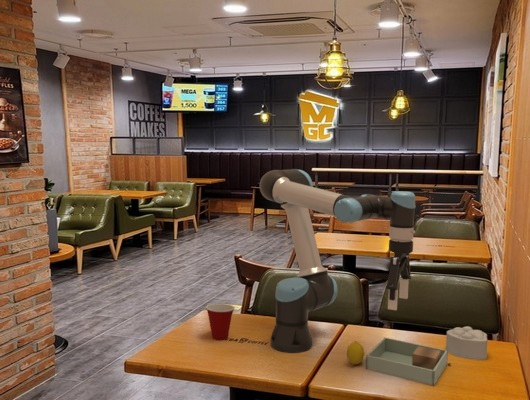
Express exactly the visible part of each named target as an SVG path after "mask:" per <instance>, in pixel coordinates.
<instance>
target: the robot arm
mask: <svg viewBox="0 0 530 400" xmlns="http://www.w3.org/2000/svg"><path fill="white" fill-rule="evenodd" d="M312 180H313V179H312V178H311V176H310V175H309V174H308V173H307V172H306V171H304V170H302V169H297V168H291V169H272V170H269V171H267V172H266V173H265V174H264V175H263V176H261V178H260V180H259V181H260V182H259V191H260V193H261V196H263V198H265V199H266V200H269V201H271V202H274V203H276V204H277V203H278V204H280V208H282V209H284V210H285V212H286V213H285V214H286V216H287V217H286V218H287V222H288V225H289V229H290V234H291V238H292V243H293V248H294V251H295V255H296V262H297V264H298V268H299V269H298V270H299V272H298V274H297V276H296V277H288V278H284V279H281V280H280V281H279V282H277V284H276V288H275V292H274V296H275V322H274V323H275V324H274V328H273V330H272V333H271V335H270V346H271V348H272V349H275V350H277V351H278V352H279V351H280V352H284V353H302V352H305V351H306V352H307V351H308V350H310V349H311V348H312V347H313V337H312V336H313V335H312V333H311V330H310V329H311V328H310V326H309V313H310V312H312V311H313V312H314V311H316V310H319V309H323V308H326V307H328V306H329V305H331V304H333V302H335V300H336V298H337V296H338V284H337V282H336V280H335V279H334V278H333V276H332V275H329V273H328V270H327V268H326V267H324V266H323V265H322V261H321V256H320V253H319V248H318V245H317V240H316V236H315V232H314V227H313V224H312V219H311V215H310V210H312V211H315V212H317V213H322V214H326V215H329V216H333V217H335V218H337V220H338V221H339V222H341V223H343V224H344V223H345V224H346V223H349V224H350V223H355V222H360V221H365V220H372V219H373V220H374V219H382V220H388V221H389V231H388V232H389V235H388V238H389V240H388V251H389V252H391V253H393V254H394V256H393V257H391V258H390V265H389V272H388V277H387V282H386V285H385V290H388V295H387V310H391V311H397V310H398V299H404V300H407V299H408V298H409V283H410V281H409V280H412V276H411V264H410V254H411V253H413V250H414V241H413V240H414V234H416V230H414V229H415V212H416V210H415V209H416V207H417V205H416V195H415V193H414V192H412V191H402V190H401V191H399V190H397V191H396V190H395V191H392V192H391V194H390V196H384V195H375V194H362V195H360V196H356V197H354V196H353V197H352V196H349V195H344V194H343V193H342V194H341V193H338V192H333V191H330V190H326V189H323V188H318V187H314V185H313V181H312ZM398 286H399V288H398ZM398 289H399V291H398Z"/></svg>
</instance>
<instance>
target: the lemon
mask: <svg viewBox="0 0 530 400" xmlns="http://www.w3.org/2000/svg"><path fill="white" fill-rule="evenodd" d="M346 357H347V360H348V361H349V362H350V363H351V364H353V365H354V366H357V365H358V364H361V363H362V362H363V360H364V357H365V351H364V348H363V345H362V344H361V343H360V342H358V341H353V342H351V343H349V345H348V347H347V350H346Z"/></svg>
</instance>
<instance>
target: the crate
mask: <svg viewBox="0 0 530 400" xmlns="http://www.w3.org/2000/svg"><path fill="white" fill-rule="evenodd" d="M418 346H420V347H424V348H429V349H434V350H439V351H441V356H440V360H439V362H438V363H437V365H436V366H435V368H434V369H433V370H430V369H426V368H421V367H417V366H413V365H412V354H413V352H414V351H415V350H416V349H417V347H418ZM448 357H449V352H448V350H446V349H441V348H438V347H432V346H428V345H423V344H419V343H418V344H417V343H413V342H410V341H409V342H408V341H405V340H404V341H403V340H399V339H394V338H389V337H383V338H382V339H381V340H380V341H379V342H378V343H377V344H376V345H375V346H374V347H373V348H372V349H371V350H370V351H369V352H368V353H367V354H366V355H365V370H369V371H372V372H377V373H380V374H385V375H389V376H392V377H397V378H401V379H405V380H409V381H413V382H417V383H421V384H425V385H429V386H435V385H436V383H437V381H438V380H439V378H440V376H441V375H442V373H443V372H444V371H445V369H446V367H447V365H448V361H449V360H448Z"/></svg>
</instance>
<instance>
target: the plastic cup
mask: <svg viewBox="0 0 530 400" xmlns="http://www.w3.org/2000/svg"><path fill="white" fill-rule="evenodd" d="M205 309H206V311H207V315H208V320H209V322H208V323H209V327H210V332H211V337H212V338H213V340H215V341H216V340H217V341H223V340H226V339H228V337H229V332H230V328H231V322H232V316H233V313H234V310H235V306H234V305H231V304H227V303H212V304H207V305H206V307H205Z"/></svg>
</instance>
